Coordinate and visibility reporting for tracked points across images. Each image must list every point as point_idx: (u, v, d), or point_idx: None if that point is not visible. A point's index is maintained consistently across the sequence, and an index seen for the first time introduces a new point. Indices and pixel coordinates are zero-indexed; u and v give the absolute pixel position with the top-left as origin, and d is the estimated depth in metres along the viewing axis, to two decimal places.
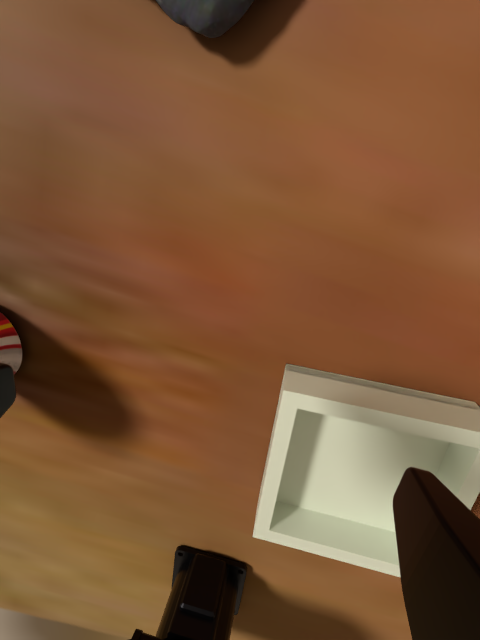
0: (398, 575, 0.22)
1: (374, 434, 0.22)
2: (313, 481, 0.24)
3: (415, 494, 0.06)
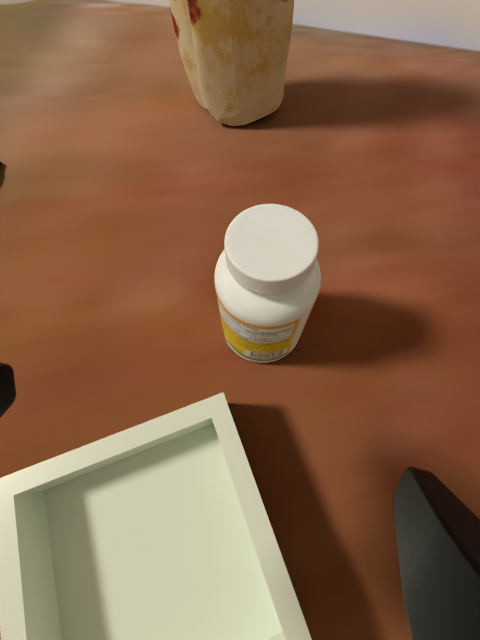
0: None
1: (151, 494, 0.18)
2: (117, 631, 0.15)
3: (415, 494, 0.06)
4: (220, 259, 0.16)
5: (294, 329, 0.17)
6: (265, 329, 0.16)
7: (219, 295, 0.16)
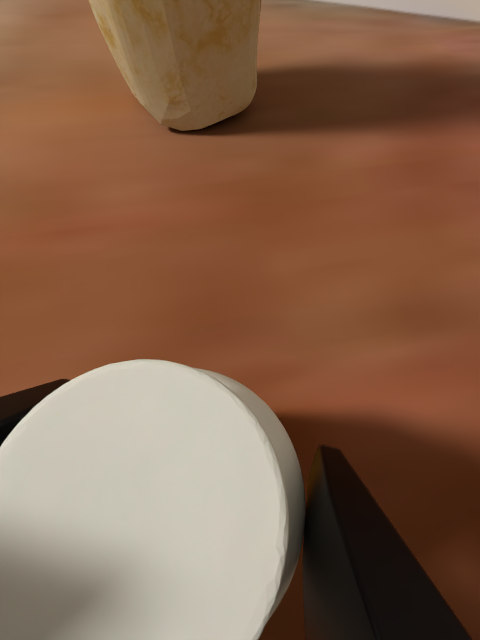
0: None
1: None
2: None
3: (319, 469, 0.06)
4: None
5: None
6: None
7: None
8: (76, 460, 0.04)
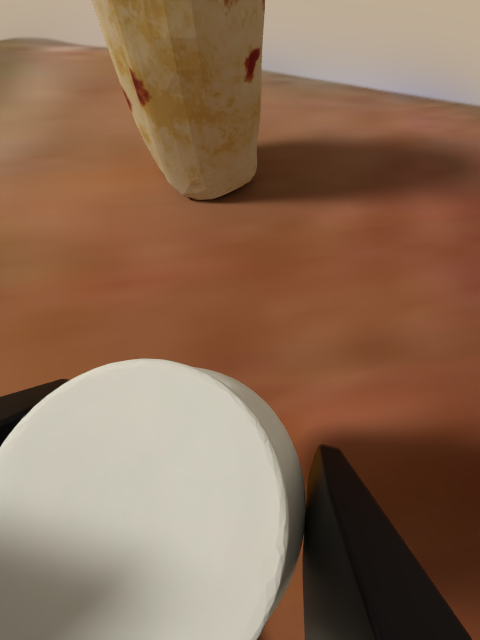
0: None
1: None
2: None
3: (319, 469, 0.06)
4: None
5: None
6: None
7: None
8: (76, 459, 0.04)
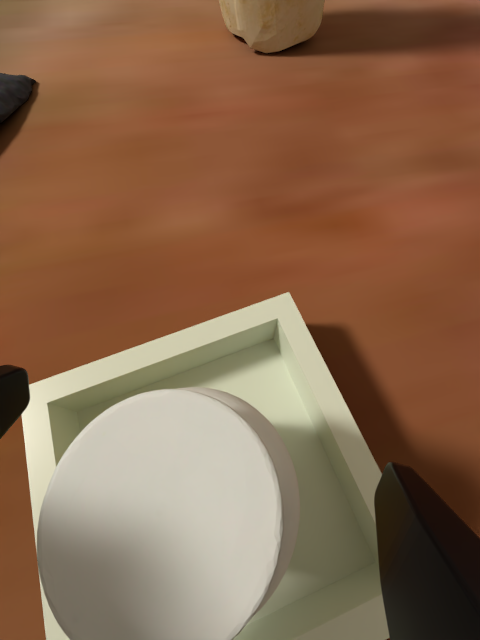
0: (387, 633, 0.10)
1: None
2: None
3: (394, 489, 0.06)
4: None
5: None
6: None
7: None
8: (119, 470, 0.06)
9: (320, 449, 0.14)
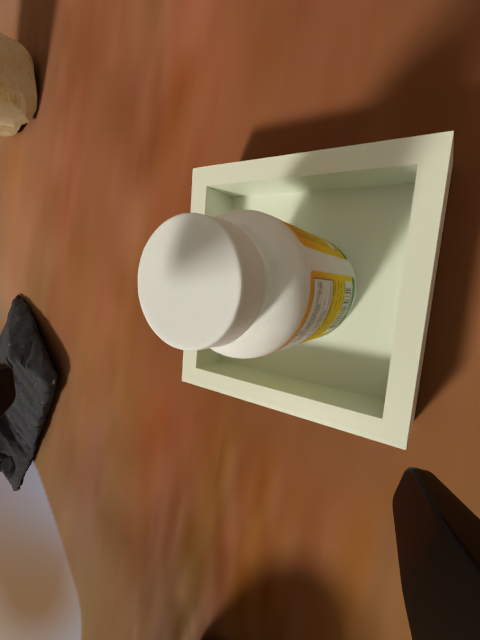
0: (440, 194, 0.12)
1: None
2: (340, 339, 0.17)
3: (415, 494, 0.06)
4: None
5: (324, 277, 0.12)
6: (304, 323, 0.11)
7: (236, 357, 0.12)
8: (162, 296, 0.10)
9: (323, 193, 0.17)
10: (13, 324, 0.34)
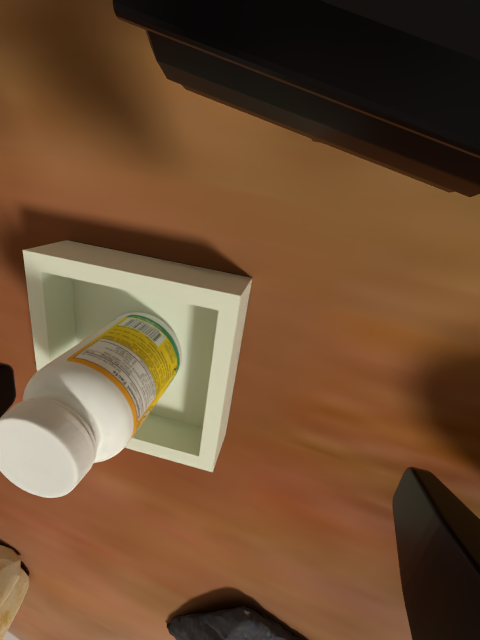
0: (58, 259, 0.17)
1: None
2: (183, 328, 0.20)
3: (415, 494, 0.06)
4: (110, 455, 0.15)
5: (87, 346, 0.16)
6: (105, 368, 0.15)
7: (129, 425, 0.15)
8: (43, 478, 0.13)
9: (77, 327, 0.22)
10: None
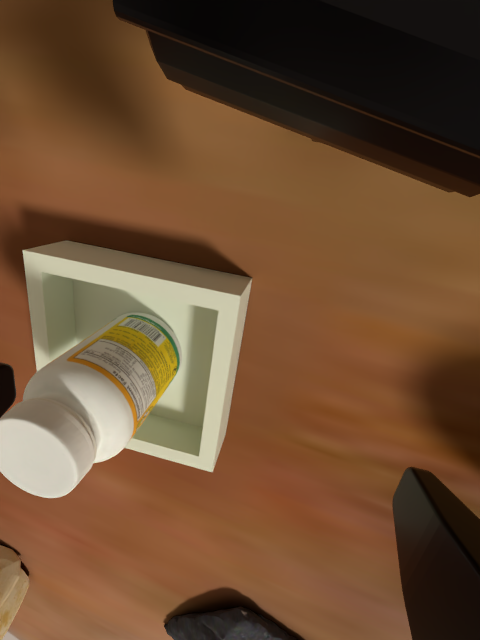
0: (58, 259, 0.17)
1: None
2: (183, 328, 0.20)
3: (415, 494, 0.06)
4: (110, 455, 0.15)
5: (87, 346, 0.16)
6: (105, 368, 0.15)
7: (129, 425, 0.15)
8: (43, 479, 0.13)
9: (77, 327, 0.22)
10: None
